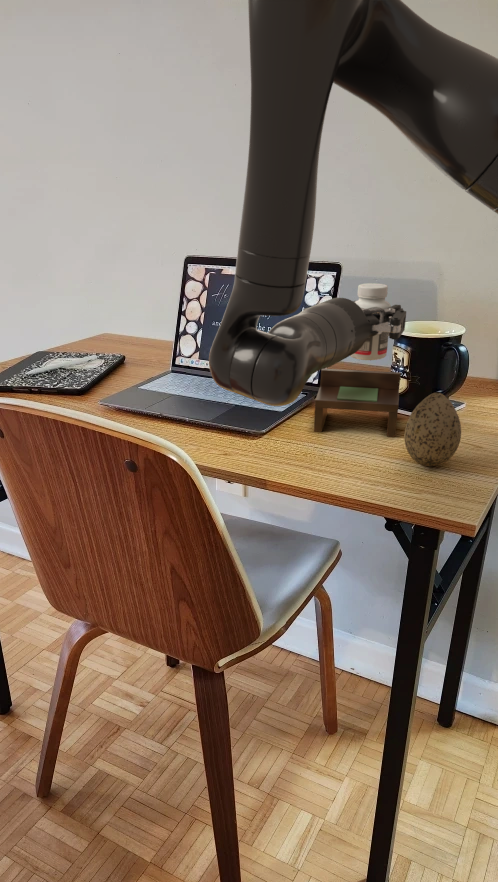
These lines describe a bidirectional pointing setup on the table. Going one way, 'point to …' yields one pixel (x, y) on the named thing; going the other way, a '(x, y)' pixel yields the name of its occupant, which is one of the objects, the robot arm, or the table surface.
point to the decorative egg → (433, 431)
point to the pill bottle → (378, 344)
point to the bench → (358, 394)
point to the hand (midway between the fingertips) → (377, 310)
